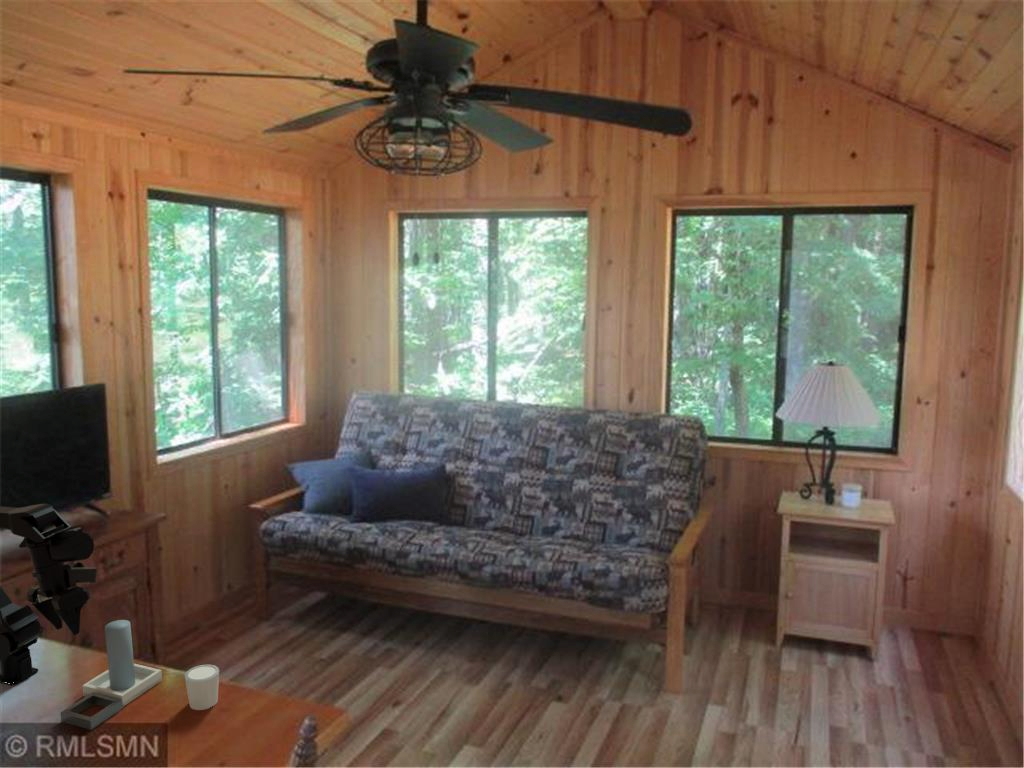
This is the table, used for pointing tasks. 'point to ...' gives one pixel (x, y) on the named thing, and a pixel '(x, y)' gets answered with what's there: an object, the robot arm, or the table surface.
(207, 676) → the white cup
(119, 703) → the socket
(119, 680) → the post
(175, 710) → the table surface
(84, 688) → the tray
